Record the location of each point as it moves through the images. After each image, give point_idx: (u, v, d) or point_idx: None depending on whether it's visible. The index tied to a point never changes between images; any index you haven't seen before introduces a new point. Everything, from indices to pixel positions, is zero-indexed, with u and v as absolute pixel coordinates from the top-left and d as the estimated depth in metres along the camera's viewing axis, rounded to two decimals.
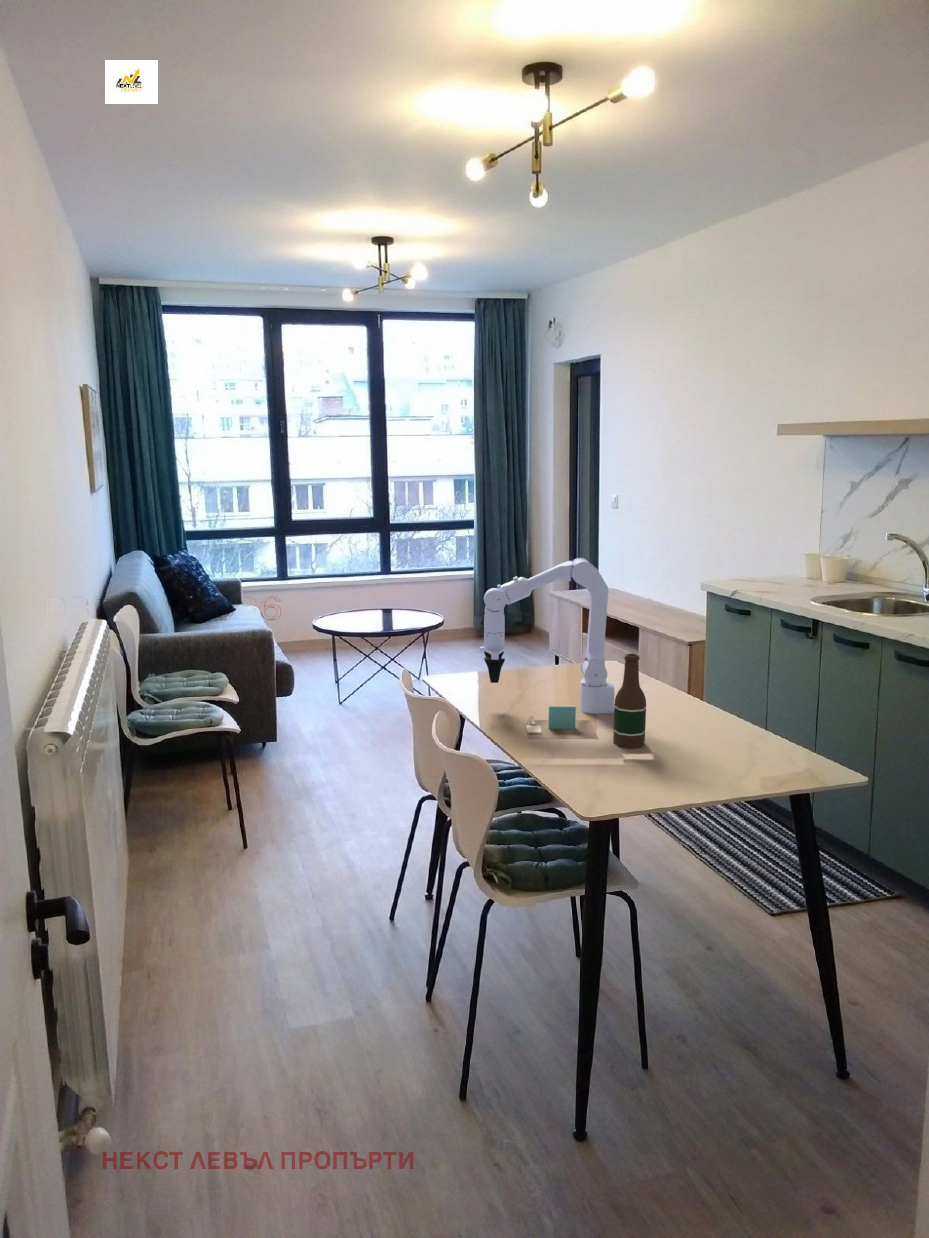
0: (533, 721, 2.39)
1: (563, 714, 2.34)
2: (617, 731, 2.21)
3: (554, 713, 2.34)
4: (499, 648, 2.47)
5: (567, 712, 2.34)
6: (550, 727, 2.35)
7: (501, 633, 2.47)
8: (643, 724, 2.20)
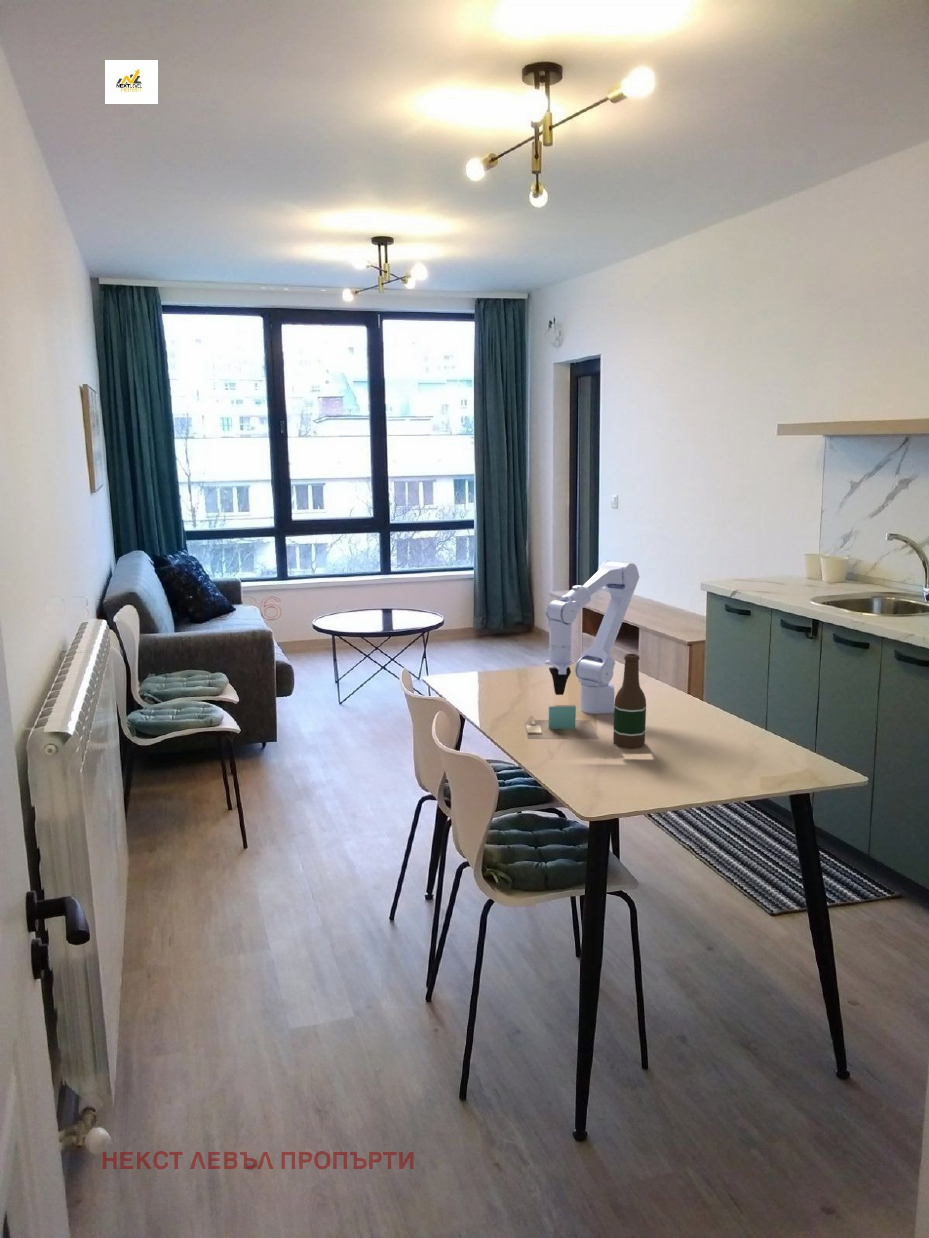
0: (533, 721, 2.39)
1: (563, 714, 2.34)
2: (617, 731, 2.21)
3: (554, 713, 2.34)
4: (566, 662, 2.38)
5: (567, 712, 2.34)
6: (550, 727, 2.35)
7: (568, 647, 2.37)
8: (643, 724, 2.20)
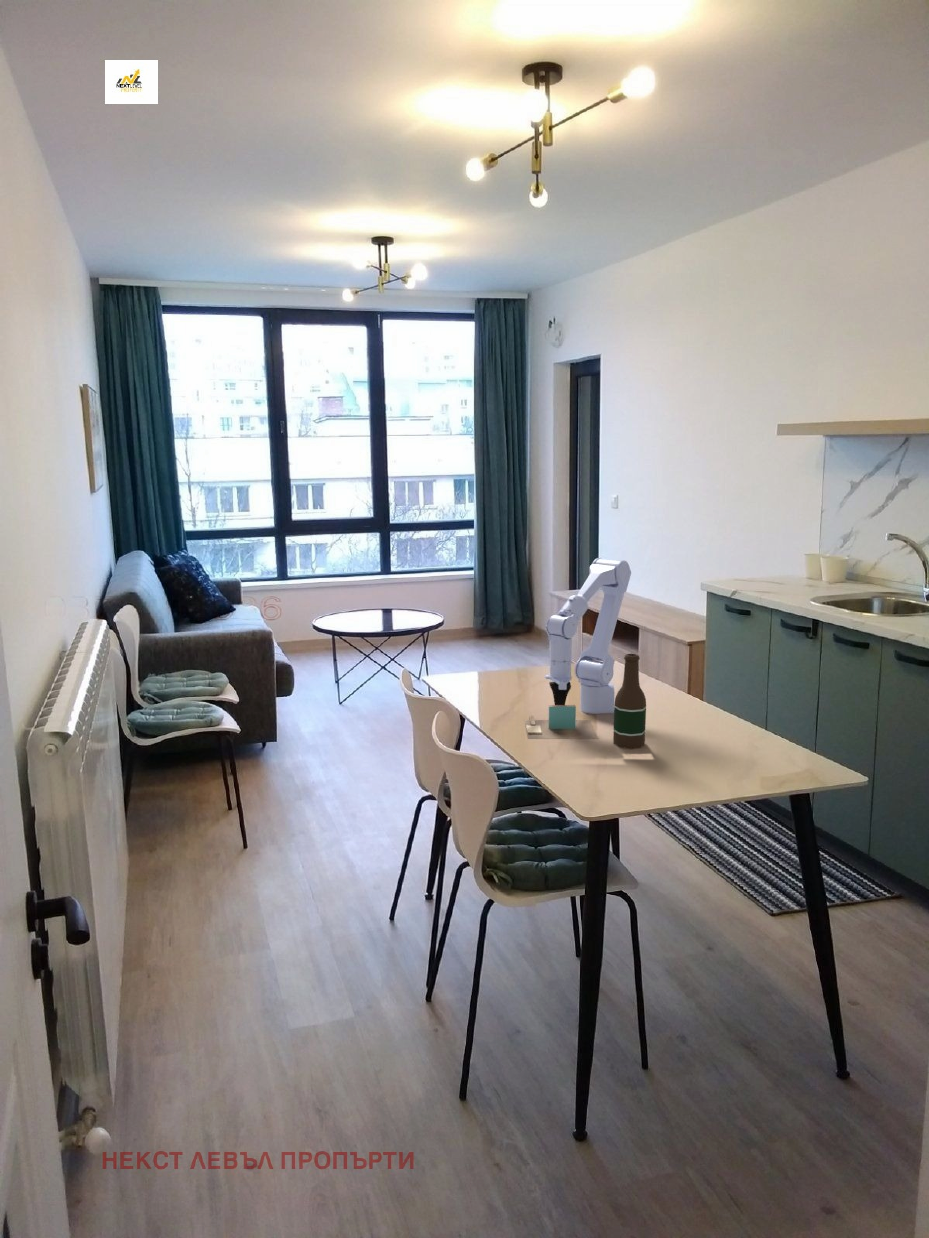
0: (533, 721, 2.39)
1: (563, 714, 2.34)
2: (617, 731, 2.21)
3: (554, 713, 2.34)
4: (566, 677, 2.37)
5: (567, 712, 2.34)
6: (550, 727, 2.35)
7: (568, 661, 2.37)
8: (643, 724, 2.20)
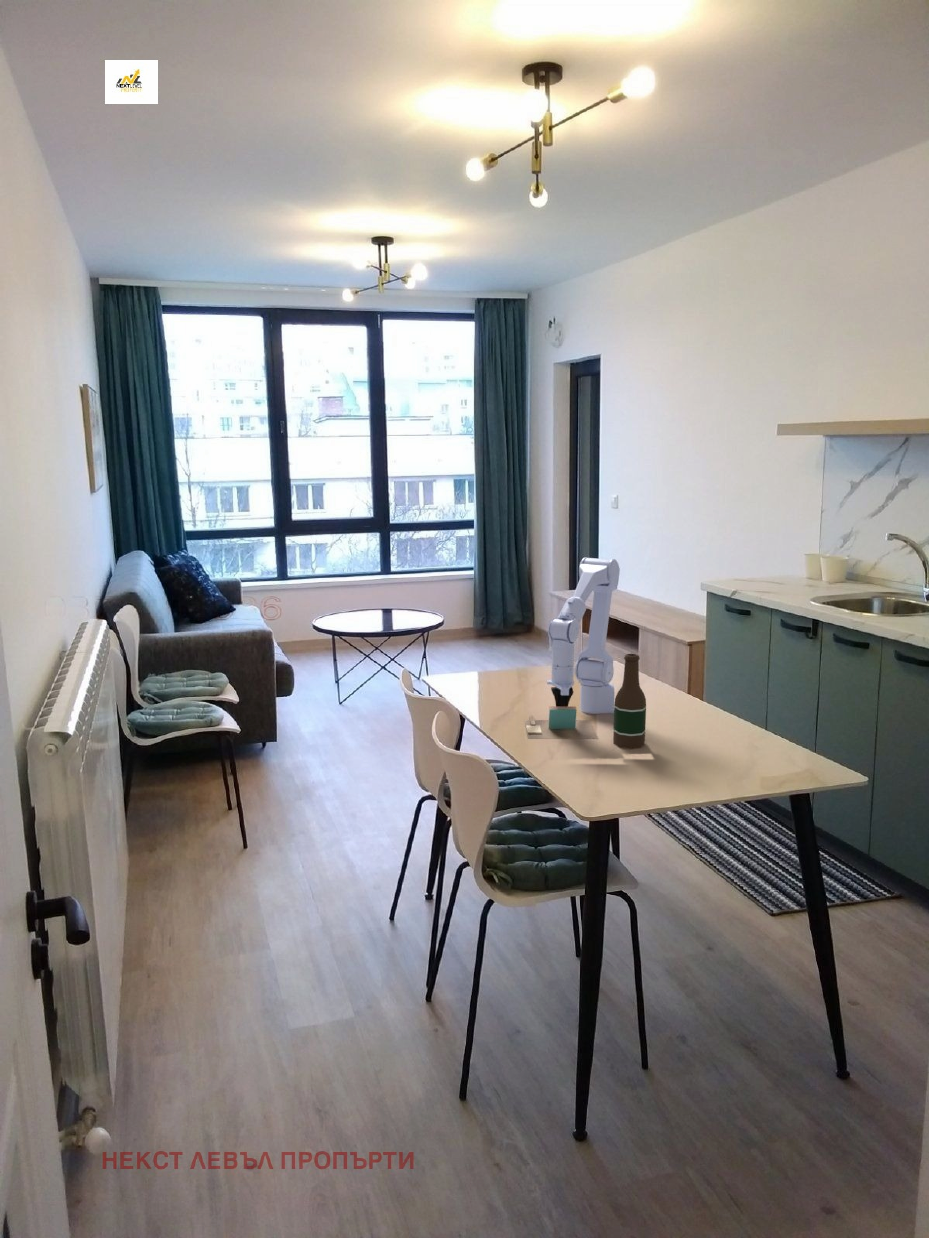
0: (533, 721, 2.39)
1: (563, 716, 2.33)
2: (617, 731, 2.21)
3: (554, 715, 2.33)
4: (568, 682, 2.32)
5: (568, 714, 2.33)
6: (550, 727, 2.35)
7: (570, 666, 2.31)
8: (643, 724, 2.20)
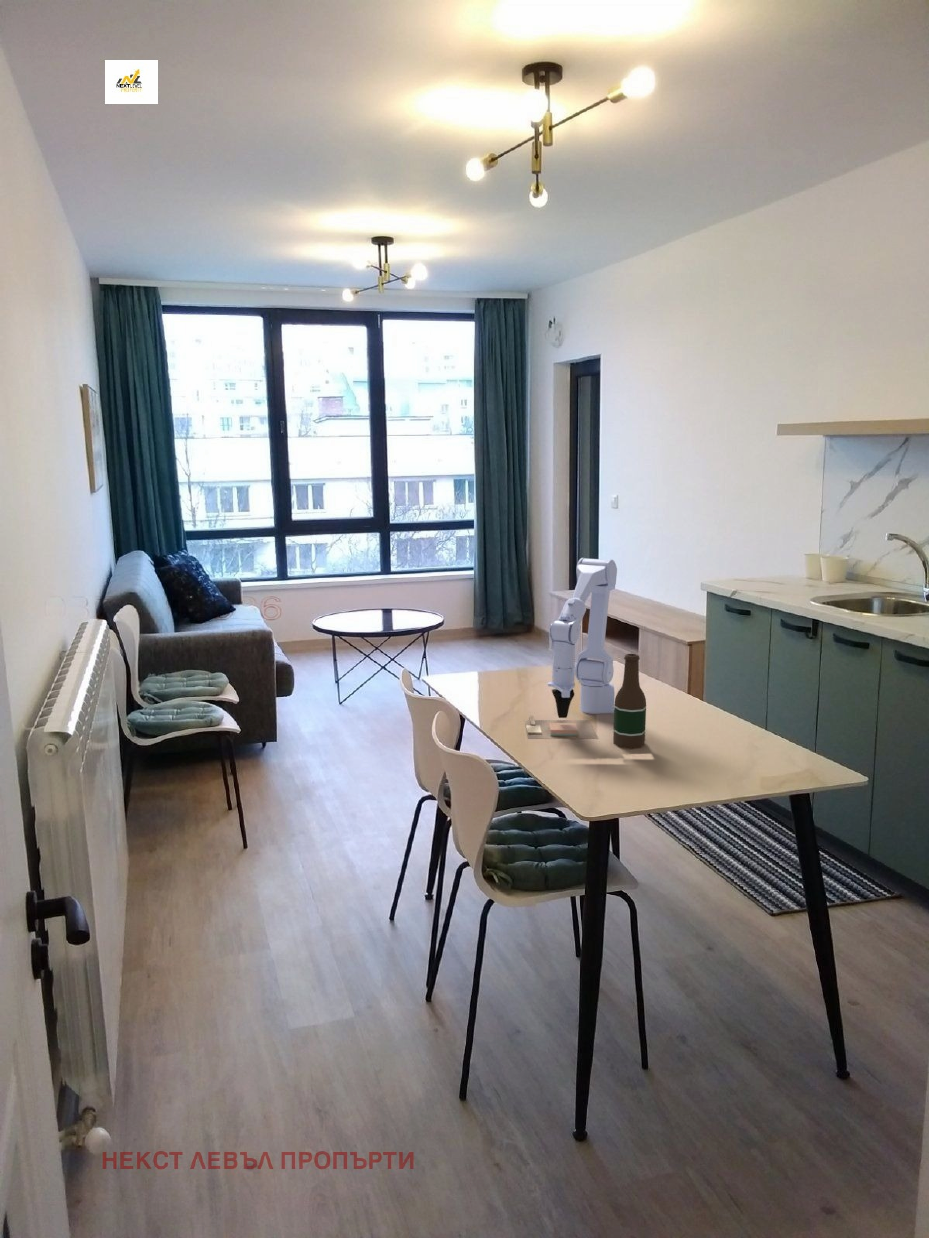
0: (533, 721, 2.39)
1: None
2: (617, 731, 2.21)
3: None
4: (569, 684, 2.30)
5: None
6: None
7: (571, 668, 2.29)
8: (643, 724, 2.20)
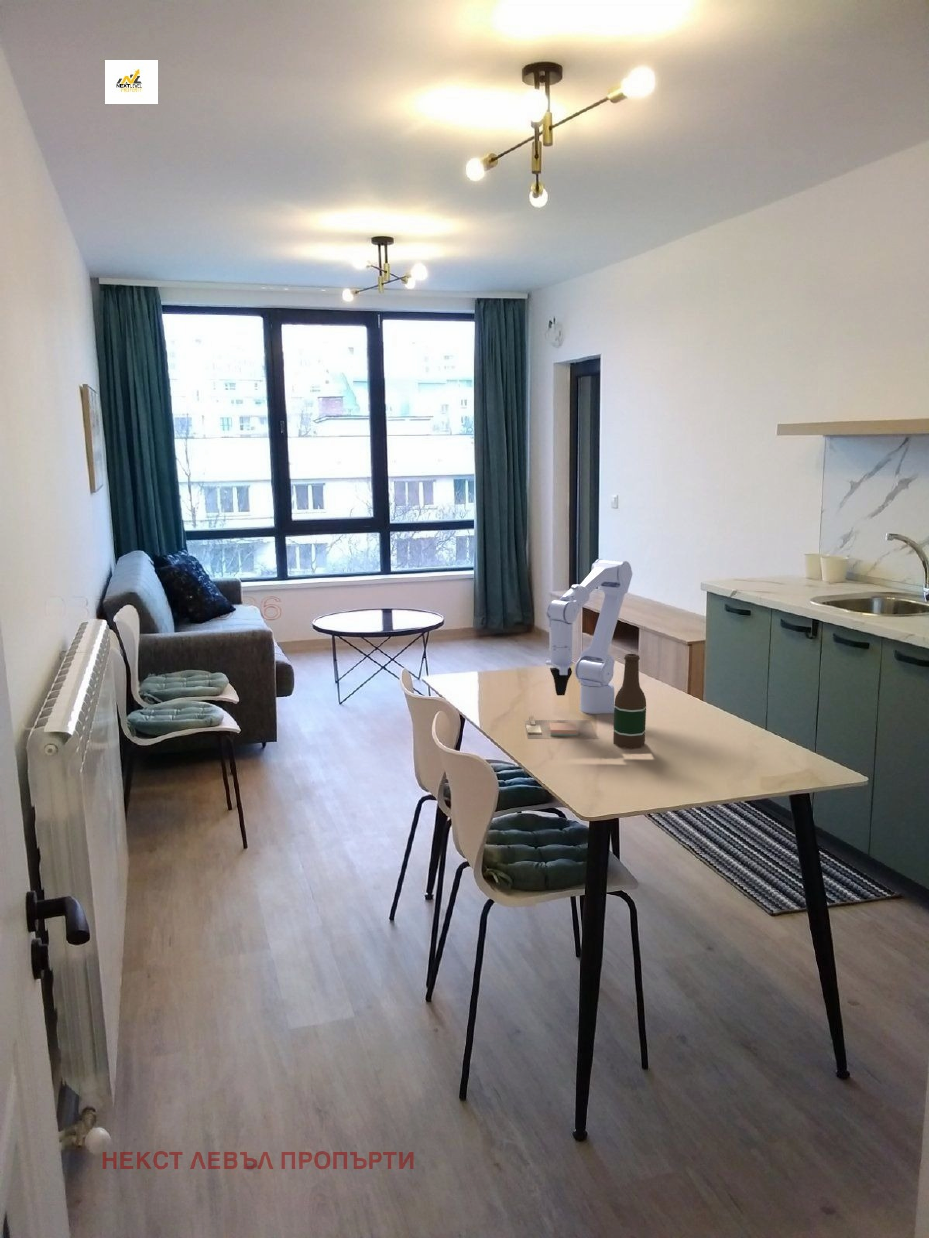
0: (533, 721, 2.39)
1: None
2: (617, 731, 2.21)
3: None
4: (567, 663, 2.35)
5: None
6: None
7: (569, 647, 2.35)
8: (643, 724, 2.20)
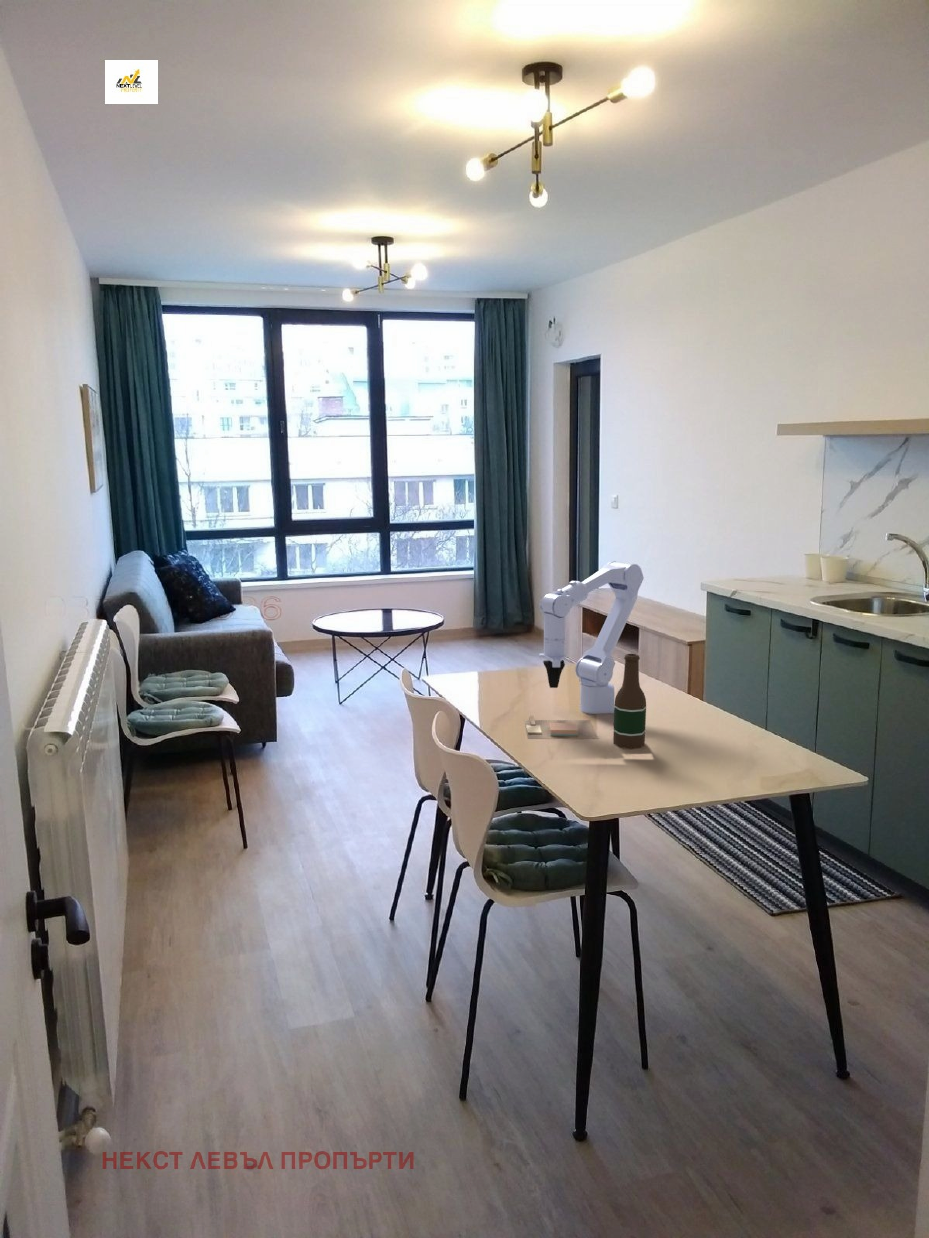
0: (533, 721, 2.39)
1: None
2: (617, 731, 2.21)
3: None
4: (560, 655, 2.39)
5: None
6: None
7: (562, 640, 2.39)
8: (643, 724, 2.20)
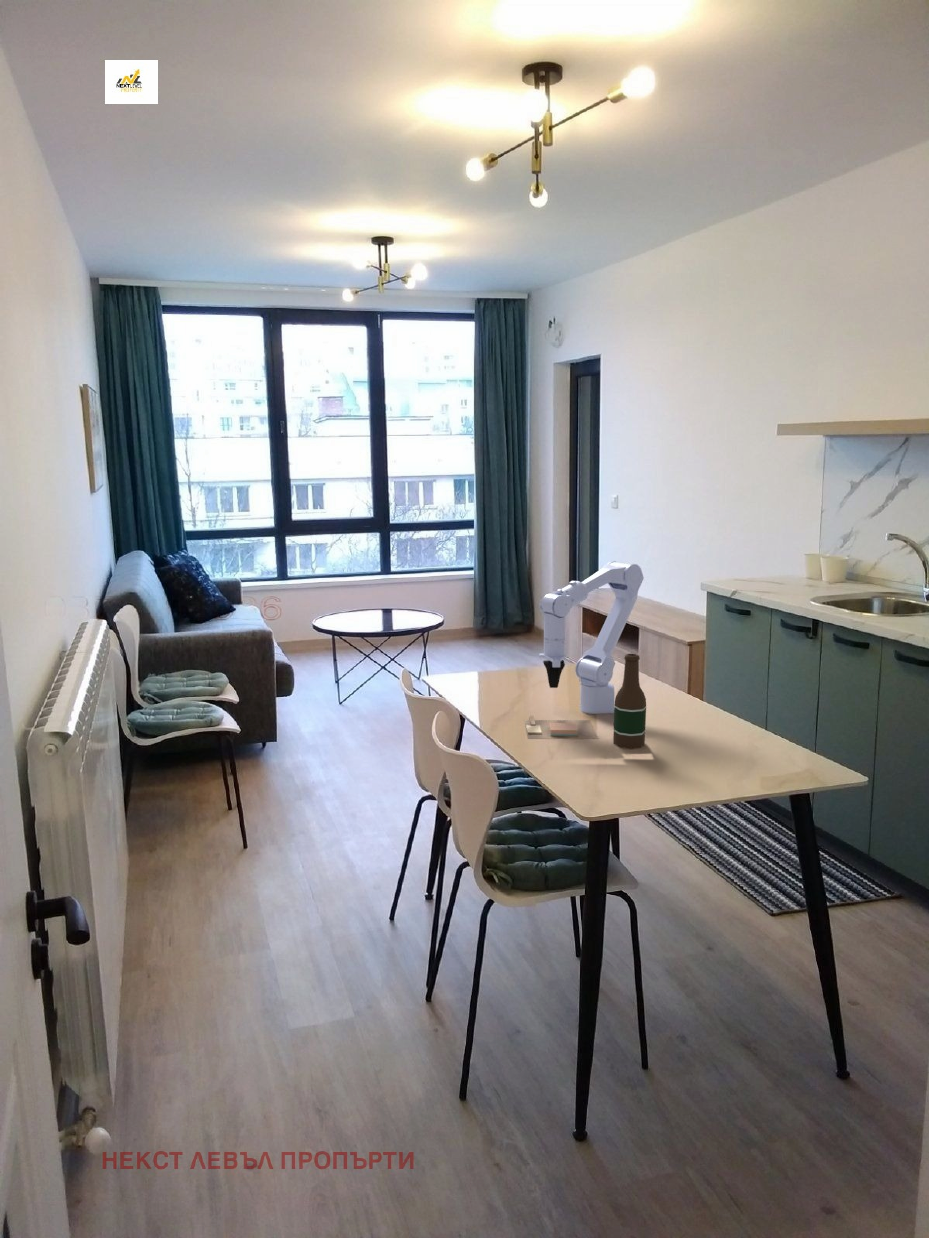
0: (533, 721, 2.39)
1: None
2: (617, 731, 2.21)
3: None
4: (560, 655, 2.39)
5: None
6: None
7: (562, 640, 2.39)
8: (643, 724, 2.20)
